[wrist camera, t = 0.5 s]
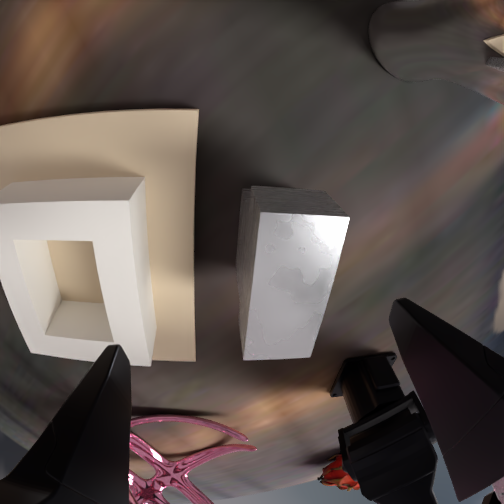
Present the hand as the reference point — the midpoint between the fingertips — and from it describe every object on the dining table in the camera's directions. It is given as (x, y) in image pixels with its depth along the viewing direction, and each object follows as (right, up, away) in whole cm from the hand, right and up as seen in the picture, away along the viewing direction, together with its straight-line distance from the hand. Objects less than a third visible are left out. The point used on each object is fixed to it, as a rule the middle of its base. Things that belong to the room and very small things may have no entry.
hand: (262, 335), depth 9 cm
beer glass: (+10, +17, +6) cm, 21 cm away
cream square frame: (-12, +3, +11) cm, 17 cm away
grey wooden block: (+1, +4, +12) cm, 13 cm away
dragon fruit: (+16, -34, +37) cm, 52 cm away
